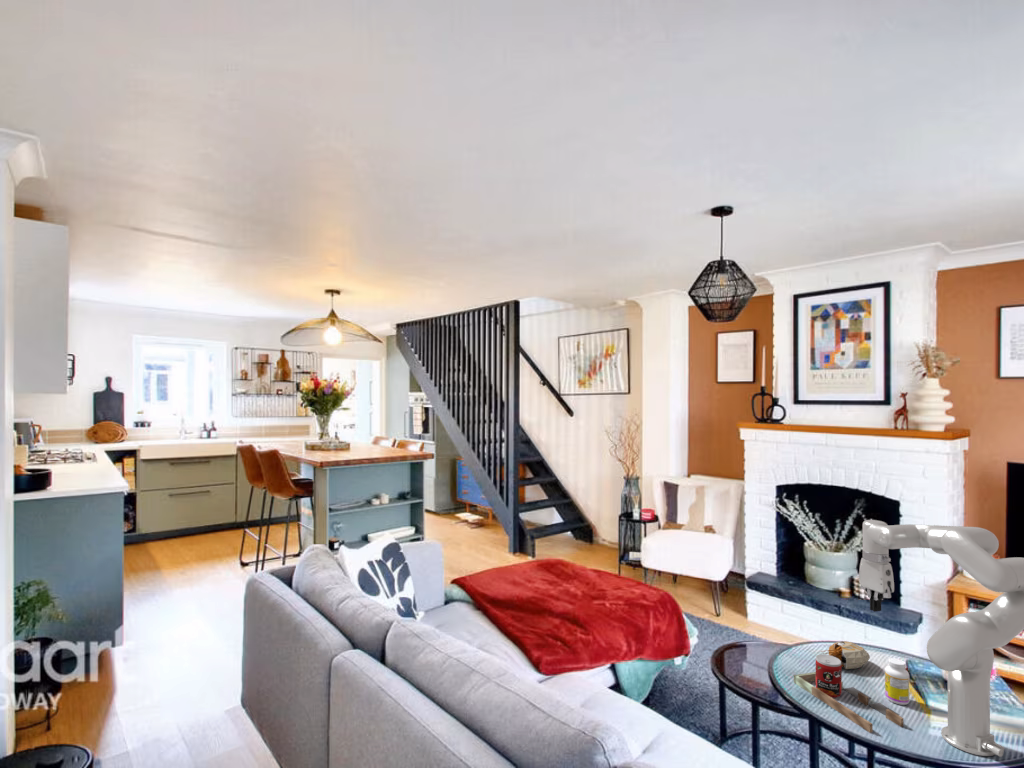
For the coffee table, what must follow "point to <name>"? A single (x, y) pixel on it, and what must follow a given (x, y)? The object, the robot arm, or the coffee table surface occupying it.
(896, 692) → the supplement bottle
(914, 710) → the coffee table surface
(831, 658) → the canned food
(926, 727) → the coffee table surface
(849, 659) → the nautilus
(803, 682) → the wooden kitchen tongs
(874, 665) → the coffee table surface
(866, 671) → the coffee table surface
